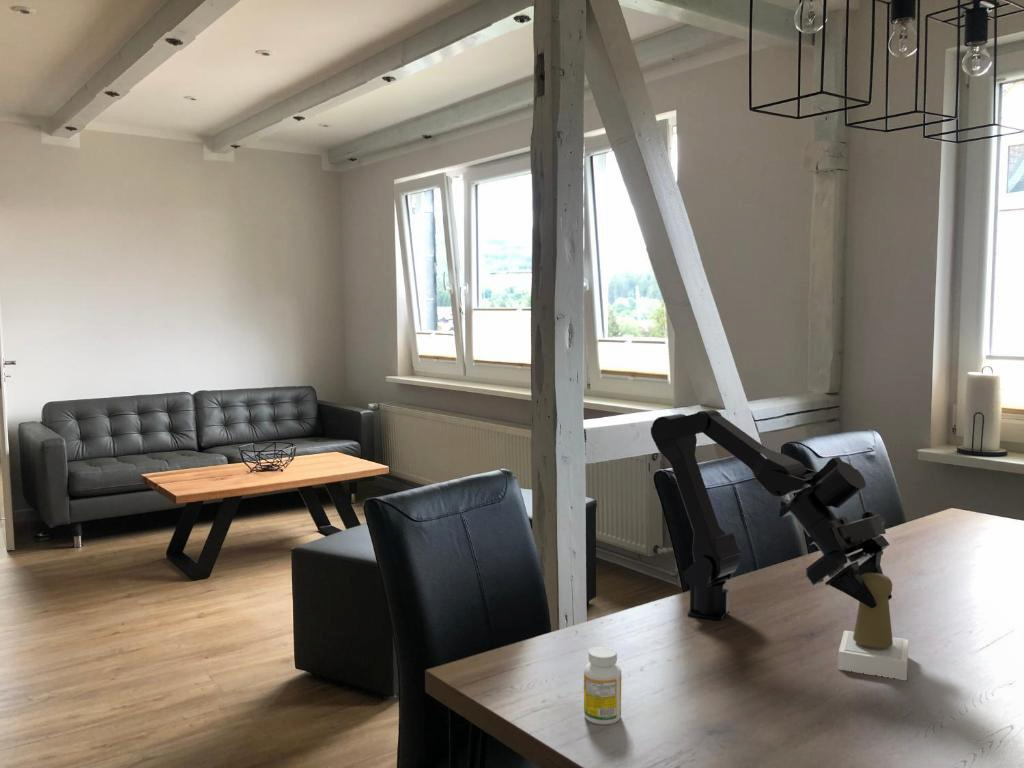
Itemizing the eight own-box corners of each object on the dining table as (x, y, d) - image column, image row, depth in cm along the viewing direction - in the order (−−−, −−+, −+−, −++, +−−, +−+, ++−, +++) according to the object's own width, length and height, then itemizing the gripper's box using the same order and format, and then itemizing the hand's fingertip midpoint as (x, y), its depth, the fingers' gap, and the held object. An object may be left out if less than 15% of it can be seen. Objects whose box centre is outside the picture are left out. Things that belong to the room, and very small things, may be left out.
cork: (901, 644, 137) (904, 578, 136) (871, 649, 135) (874, 582, 134) (873, 631, 143) (876, 567, 142) (844, 636, 141) (847, 571, 140)
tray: (838, 669, 137) (838, 650, 137) (843, 647, 146) (844, 629, 146) (906, 680, 133) (907, 661, 132) (907, 657, 142) (908, 638, 141)
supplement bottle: (607, 729, 118) (607, 662, 118) (576, 718, 122) (576, 653, 121) (628, 715, 122) (628, 650, 122) (597, 704, 126) (597, 641, 125)
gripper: (826, 505, 134) (893, 590, 127) (879, 487, 146) (944, 564, 139) (779, 543, 140) (841, 627, 133) (834, 524, 153) (893, 599, 146)
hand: (882, 603), depth 138 cm, fingers closed on cork, 5 cm apart
